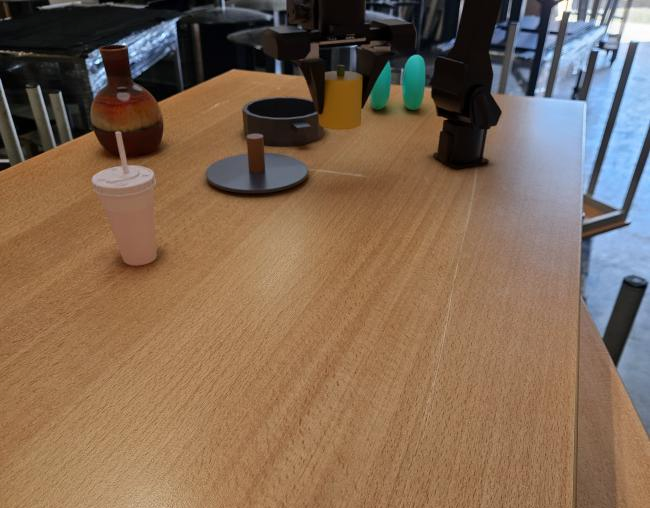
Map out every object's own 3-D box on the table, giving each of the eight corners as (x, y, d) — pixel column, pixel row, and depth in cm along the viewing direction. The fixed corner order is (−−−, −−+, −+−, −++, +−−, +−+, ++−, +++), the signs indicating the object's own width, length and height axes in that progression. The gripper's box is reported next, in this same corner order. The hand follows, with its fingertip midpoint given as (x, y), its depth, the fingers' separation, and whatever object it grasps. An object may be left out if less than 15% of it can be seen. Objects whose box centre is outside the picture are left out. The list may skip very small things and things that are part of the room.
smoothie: (180, 251, 66) (160, 129, 58) (144, 276, 62) (117, 148, 54) (136, 240, 69) (111, 121, 60) (98, 264, 64) (65, 138, 56)
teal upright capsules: (422, 116, 111) (428, 60, 105) (371, 115, 111) (374, 60, 105) (416, 102, 119) (421, 50, 113) (368, 101, 119) (371, 49, 113)
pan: (300, 114, 112) (299, 90, 109) (342, 144, 97) (343, 117, 95) (230, 122, 107) (228, 97, 104) (264, 155, 93) (263, 127, 90)
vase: (181, 145, 96) (166, 45, 87) (130, 165, 89) (109, 57, 80) (135, 134, 101) (117, 38, 92) (83, 152, 94) (58, 49, 85)
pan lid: (286, 154, 93) (285, 116, 90) (323, 187, 82) (324, 145, 78) (195, 167, 88) (190, 127, 85) (222, 204, 77) (217, 160, 74)
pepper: (349, 115, 79) (350, 59, 75) (368, 126, 75) (371, 68, 71) (312, 120, 77) (311, 63, 73) (329, 132, 73) (330, 72, 69)
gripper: (379, -36, 75) (373, 89, 84) (243, -31, 69) (252, 103, 78) (425, -29, 67) (413, 108, 76) (276, -23, 61) (282, 126, 70)
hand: (340, 110), depth 75 cm, fingers closed on pepper, 5 cm apart
